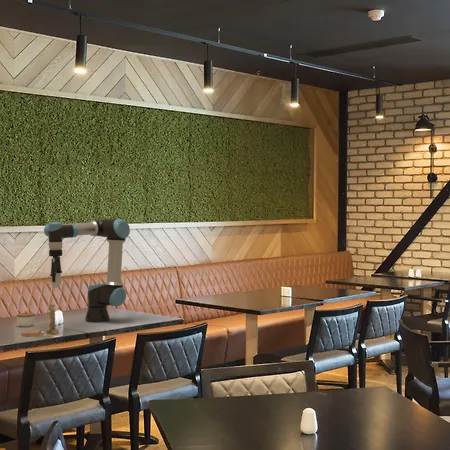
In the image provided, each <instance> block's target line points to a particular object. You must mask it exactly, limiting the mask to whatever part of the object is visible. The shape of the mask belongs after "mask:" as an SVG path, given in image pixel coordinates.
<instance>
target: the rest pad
mask: <svg viewBox="0 0 450 450" xmlns="http://www.w3.org/2000/svg"><path fill="white" fill-rule="evenodd" d="M60 335H62V331H61V332H60V331H59V333H58V334H57V335H46V332H45V333H44V334H42V336H44V337H45V336H49V337H51V336H53V337H55V336H60Z"/></svg>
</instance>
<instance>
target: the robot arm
mask: <svg viewBox="0 0 450 450" xmlns="http://www.w3.org/2000/svg"><path fill="white" fill-rule="evenodd" d="M130 233H131V229H130V225H129V223H128V222H127V221H126V220H124V219H120V218H117V219H116V218H104V219H98V220H97V219H96V220H91V221H89V222H77V223H62V222H60V221H59V222H58V221H54V222H49V223H48V224H46V225H45V226H44V228H43V234H44V235H45V236H46V237H48V243H47V245H48V249H49V250H48V255H49V257H52V258H51V260H50V261H51V267H50V274H49V276H50V277H51V289H56V288H57V287H58V285H62V274H63V271H62V264H61V256H63V239H69V238H76V237H78V236H91V237H103V238H106V241H107V242H108V256H107V269H106V270H107V271H106V281H105V282H104V283H96V284H89V286H88V287H87V288H88V289H87V311H86V314H85V319H84V320H85V321H86V322H89V323H103V322H104V323H105V322H108V321H110V314H109V311H108V307H107V306H111V307H119V306H122V305H123V304H124V303H125V301H126V299H127V291H126V289H124V285H123V282H122V280H121V279H122V264H123V248H124V243H125V242H126V239H127V238H128V237H129V236H130Z"/></svg>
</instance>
